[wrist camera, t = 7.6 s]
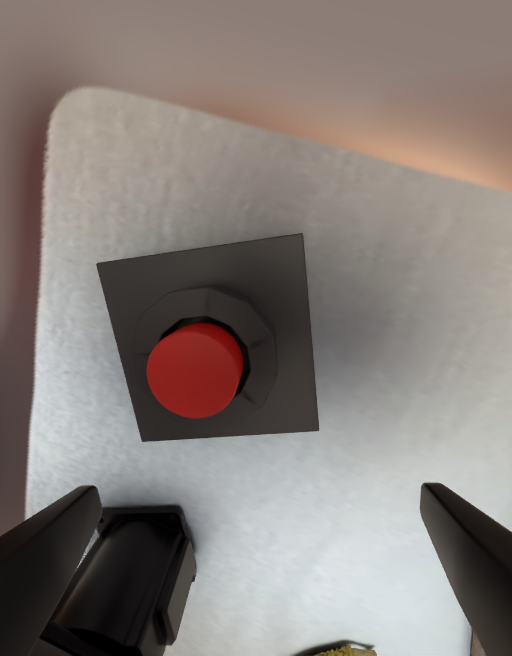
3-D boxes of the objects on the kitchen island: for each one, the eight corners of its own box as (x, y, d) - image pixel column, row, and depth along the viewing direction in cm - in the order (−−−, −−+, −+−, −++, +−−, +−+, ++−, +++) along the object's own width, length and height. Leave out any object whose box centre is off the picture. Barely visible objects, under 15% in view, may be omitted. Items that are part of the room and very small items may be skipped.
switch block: (159, 419, 16) (122, 466, 13) (122, 263, 14) (64, 261, 10) (313, 409, 15) (326, 456, 12) (298, 238, 13) (307, 226, 9)
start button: (173, 400, 12) (156, 422, 10) (157, 326, 11) (136, 336, 9) (248, 394, 12) (243, 416, 10) (237, 317, 11) (230, 326, 9)
